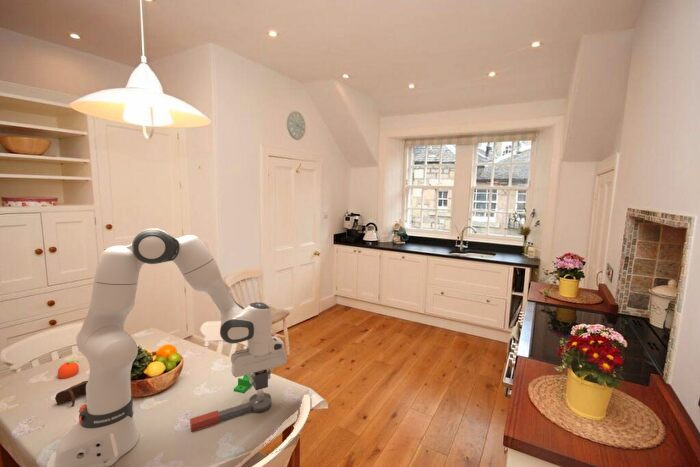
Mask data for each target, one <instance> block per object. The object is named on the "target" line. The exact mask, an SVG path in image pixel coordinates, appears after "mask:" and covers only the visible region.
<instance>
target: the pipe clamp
mask: <svg viewBox="0 0 700 467" xmlns="http://www.w3.org/2000/svg"><path fill="white" fill-rule="evenodd" d="M251 377H252V375H251ZM251 386H253V385H252V384H250V379H249V378H248V376H247V375H243V376H242V378H241V377H237V385H236V386H234V388H233V392H235V393H240V394H245V392H246V391H247V390H248V389H249V388H250V387H251Z"/></svg>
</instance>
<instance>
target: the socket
mask: <svg viewBox="0 0 700 467" xmlns="http://www.w3.org/2000/svg"><path fill="white" fill-rule="evenodd" d="M252 377H254V379H255V383H253V384H252V385H251V386H252V387H253V389H254V390H255V391H258V390H261V389H262V390H263V389H265V388H268V387H269V379H268V369H266V370H262V371H258V372H255V373H252Z"/></svg>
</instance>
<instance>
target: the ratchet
mask: <svg viewBox="0 0 700 467" xmlns="http://www.w3.org/2000/svg"><path fill="white" fill-rule="evenodd" d="M248 401H249V402H246V403H242V404H240V405H236V406H233V407H229V408H226V409H223V410H220V411H218V409H217V410H214V411H210V412H208V413H204V414H200V415H198V416H194V417H191V418H189V424H190V432H195V431H199V430H201V429H205V428H207V427H210V426H213V425H216V424H219V423H220V422H223V421H227V420H229V419H233V418H235V417H238V416H241V415H245V414H248V413H250V412H251V413H254V414H261V413H262V414H263V413H265V412H268V411H269V410H270V408H271V407H272V396H271V394H270V393H267V392H264V390H263V389H260V390H256V393H255V394H253V395H252V396H250V398H249V400H248Z"/></svg>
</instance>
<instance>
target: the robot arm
mask: <svg viewBox="0 0 700 467" xmlns="http://www.w3.org/2000/svg"><path fill="white" fill-rule="evenodd" d="M167 262H173V263H174V265H176V266H177V268H178V270H179V271H180V273H181V274H182V276H183V278H184V280H186V282H187V283H188V284H189V285H190V287H192V288H193V290H196V291H198V292H204V293H206V294H208V296H209V297H210V298H211V299H212V302H214V304H215V306H216V308H217V309H218V310H219V314H220V326H219V334H220V338H221V339H222V340H223V341H224V342H226V343H228V344H238V343H243V342H246V341H247V342H246V343H247V348H244V349H240V350H235V351H234V352H233V353H231V356H230V362H231V375H232V376H233V377H234V378H241V377H244V375H247V376H248V378H249V379H250V384H253V383H255V379H254V377H251V375H252V373H255V372H258V371H262V370H267V371H268V380H270V379H271V374H272V373H273V372H274V368H276V367H280V366H284V365H286V363H287V362H288V357H287V350H286V349H285V343H284V341H283V340H282V339H281V338H280V337H278V336H277V337H276V336H273V334H272V328H273V324H272V323H273V319H272V310H271V308H270V306H268V304H266V303H264V302H258V301H257V302H251V303H249V304H248V306H246V307H243V306H242V305H240V304H239V303H237V302H236V300H235V299H234V297H233V296H232V295H231V293H230V292H229V290H228V288H227V286H226V284H225V283H224V280H223V277H222V273H221V270H220V267H219V266H218V264H217V261H216V260H215V258H214V256H213V255H212V253H211V251H210V250H209V248H208V247H207V246H206V244H204V242H203V241H202V240H201V239H200V238H199V237H198V236H197V235H193V234H188V235H183V236H181V237H177V238H176V237H174V236H172V235H170V233H169V232H167V231H166V230H164V229H161V228H158V227H149V228H145V229H143V230H141V231H139V233H137V235H136V236H135V237H134V239H133V240H132V242H131V243H130V244H129V245H114V246H110V247H107V248H105V249H104V250H103V251H102V254H101V256H100V258H99V262H98V264H97V267H96V271H95V275H94V280H93V285H92V290H91V297H90V301H89V302H90V303H89V307H88V310H87V313H86V315H85V317H84V321H83V323H82V326H81V327H80V329H79V331H78V332H77V334H76V340H75V341H76V346H77V349H78V351H79V352H80V353H81V354H82V355H83V357H85V359H86V360H87V362H88V365H89V375H88V380H87V381H88V382H87V384H86V393H85V394H86V395H85V397H86V404H85V403H84V404H82V405H80V406H79V410H78V413H79V415H78V422H77V423H76V424H75V425H73V426H72V427H71V428H69V430H66V432H65V433H64V434H63V436H62V437H61V438H60V440H59V442H58V445H57V448H56V449H55V450H54V451H53V452H52V453H51V455H50V456H49V458H48V460H47V462H46V465H45V467H111V466H113V465H114V464H116V462H117V461H118V460H119V459H120V458H122V456H125V454H127V453H128V452H130V451H131V450H132V449H134V447H135V446H136V445H137V443H138V442H139V440H140V434H139V431H138V429H137V425H136V423H135V419H134V413H135V405H134V403H135V402H134V398H133V395H132V390H131V388H132V386H131V371H132V367H133V363H134V361H135V359H137V357H138V353H139V347H138V344H137V342H136V341H135V339H134V338H133V336H132V335H131V334H130V333H128V332H127V331H125V329H124V328H125V323H126V320H127V318H128V315H129V313H130V312H131V311H132V310H133V308H134V307H135V303H136V302H135V300H136V297H137V296H136V295H137V290H138V288H137V287H138V282H139V278H140V277H139V276H140V272H141V268H142V267H143V265H144V264H148V265H158V264H161V263H162V264H163V263H167Z"/></svg>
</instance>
